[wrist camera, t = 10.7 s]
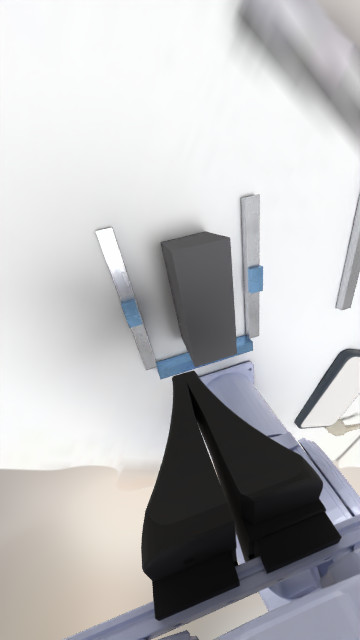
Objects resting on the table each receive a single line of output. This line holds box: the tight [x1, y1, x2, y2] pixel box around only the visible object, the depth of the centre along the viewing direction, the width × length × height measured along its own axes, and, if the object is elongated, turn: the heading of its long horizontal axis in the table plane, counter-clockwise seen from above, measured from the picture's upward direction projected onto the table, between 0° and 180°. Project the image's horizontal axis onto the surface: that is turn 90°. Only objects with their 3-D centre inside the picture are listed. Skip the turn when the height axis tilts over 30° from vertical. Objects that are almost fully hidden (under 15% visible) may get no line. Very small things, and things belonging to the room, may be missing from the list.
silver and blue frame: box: [95, 194, 360, 379], centre depth 20 cm, size 15×25×2 cm, turn 101°
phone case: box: [295, 349, 360, 429], centre depth 34 cm, size 9×2×16 cm
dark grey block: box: [161, 232, 237, 367], centre depth 18 cm, size 10×4×5 cm, turn 11°
